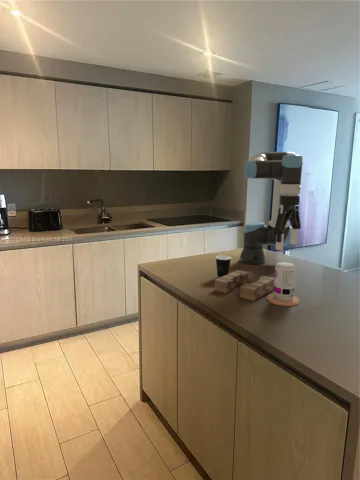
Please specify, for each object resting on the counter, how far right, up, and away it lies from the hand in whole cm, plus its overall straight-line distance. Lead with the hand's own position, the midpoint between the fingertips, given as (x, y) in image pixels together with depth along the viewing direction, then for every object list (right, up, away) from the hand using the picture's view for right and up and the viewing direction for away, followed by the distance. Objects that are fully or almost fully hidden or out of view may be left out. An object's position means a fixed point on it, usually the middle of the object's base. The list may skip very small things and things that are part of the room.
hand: (286, 246), depth 142 cm
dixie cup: (-22, -17, +34) cm, 43 cm away
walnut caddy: (-14, -20, +17) cm, 30 cm away
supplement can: (0, -22, +5) cm, 23 cm away
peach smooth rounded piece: (0, -23, +4) cm, 23 cm away
